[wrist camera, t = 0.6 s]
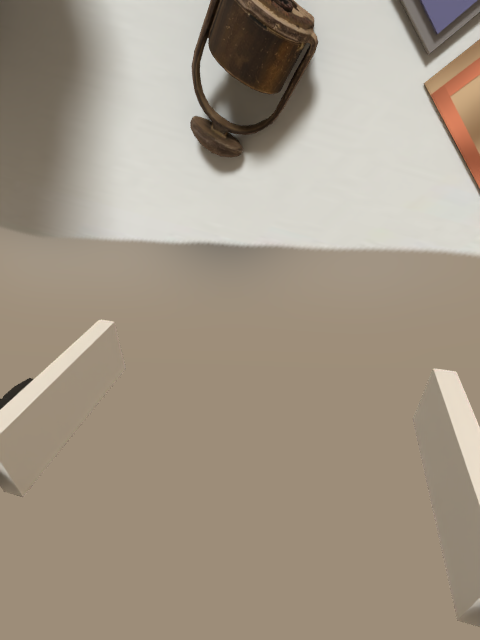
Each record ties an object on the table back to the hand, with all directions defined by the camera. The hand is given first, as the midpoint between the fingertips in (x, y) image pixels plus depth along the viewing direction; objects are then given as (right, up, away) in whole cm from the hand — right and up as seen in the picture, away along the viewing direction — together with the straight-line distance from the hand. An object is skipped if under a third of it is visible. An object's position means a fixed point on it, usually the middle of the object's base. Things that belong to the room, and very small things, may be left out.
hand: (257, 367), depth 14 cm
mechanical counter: (0, +23, +15) cm, 28 cm away
